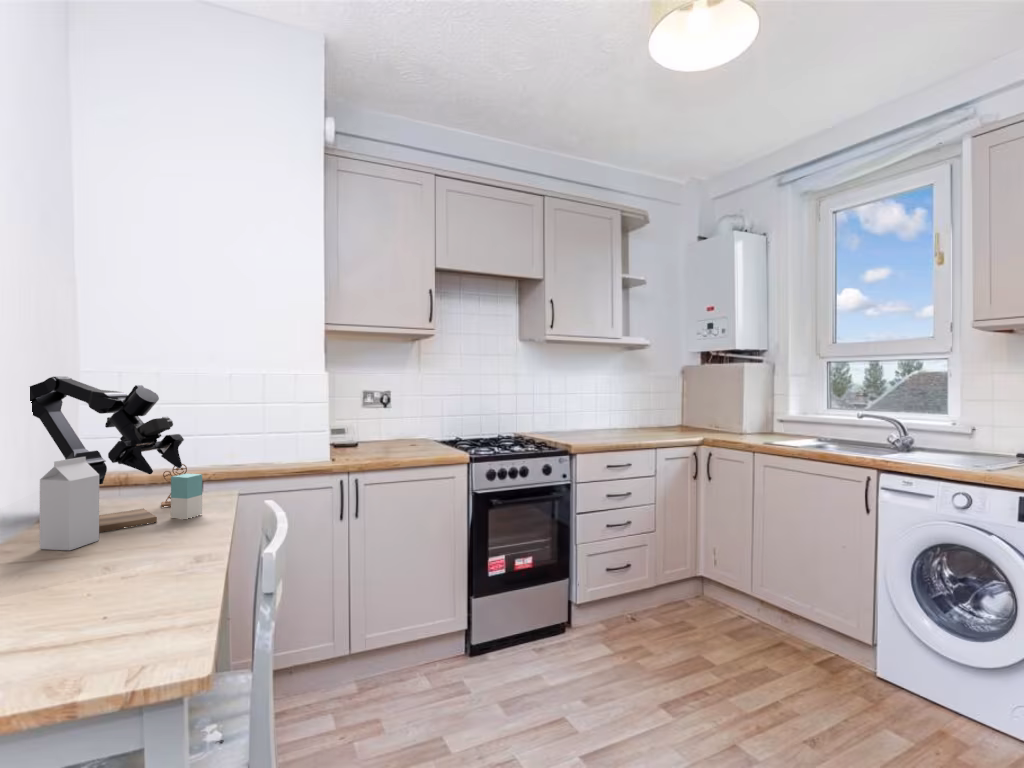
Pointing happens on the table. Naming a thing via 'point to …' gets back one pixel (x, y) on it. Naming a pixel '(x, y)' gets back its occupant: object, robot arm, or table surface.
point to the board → (125, 519)
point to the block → (186, 495)
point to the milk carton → (69, 505)
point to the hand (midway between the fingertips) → (166, 470)
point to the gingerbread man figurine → (168, 503)
